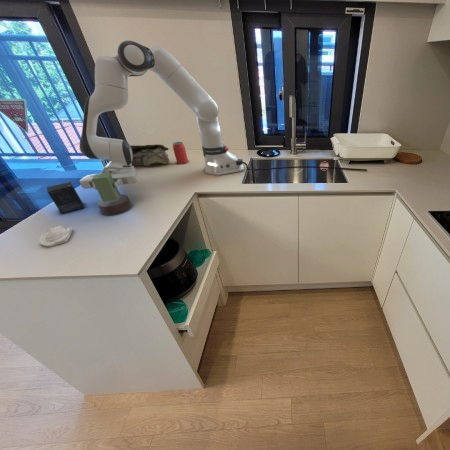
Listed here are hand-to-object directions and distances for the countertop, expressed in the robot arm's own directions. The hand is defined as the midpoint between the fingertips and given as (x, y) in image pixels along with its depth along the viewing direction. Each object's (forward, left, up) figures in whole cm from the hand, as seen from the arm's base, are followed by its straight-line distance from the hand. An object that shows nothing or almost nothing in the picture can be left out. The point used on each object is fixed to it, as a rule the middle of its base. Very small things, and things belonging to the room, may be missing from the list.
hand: (105, 187), depth 97 cm
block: (0, -1, -5) cm, 6 cm away
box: (+18, -7, -11) cm, 22 cm away
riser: (0, -1, -11) cm, 11 cm away
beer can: (-24, -55, -11) cm, 61 cm away
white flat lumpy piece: (+14, +17, -11) cm, 25 cm away
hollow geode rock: (-4, -58, -11) cm, 59 cm away
